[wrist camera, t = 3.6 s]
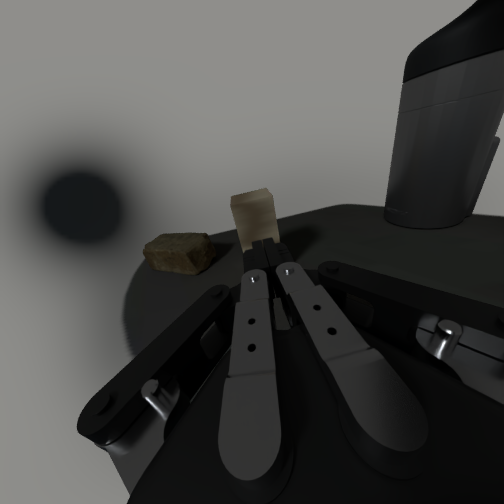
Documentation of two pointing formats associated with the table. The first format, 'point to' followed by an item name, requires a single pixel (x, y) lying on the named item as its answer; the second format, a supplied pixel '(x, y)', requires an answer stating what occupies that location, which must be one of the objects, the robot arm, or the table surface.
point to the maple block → (254, 217)
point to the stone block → (180, 253)
